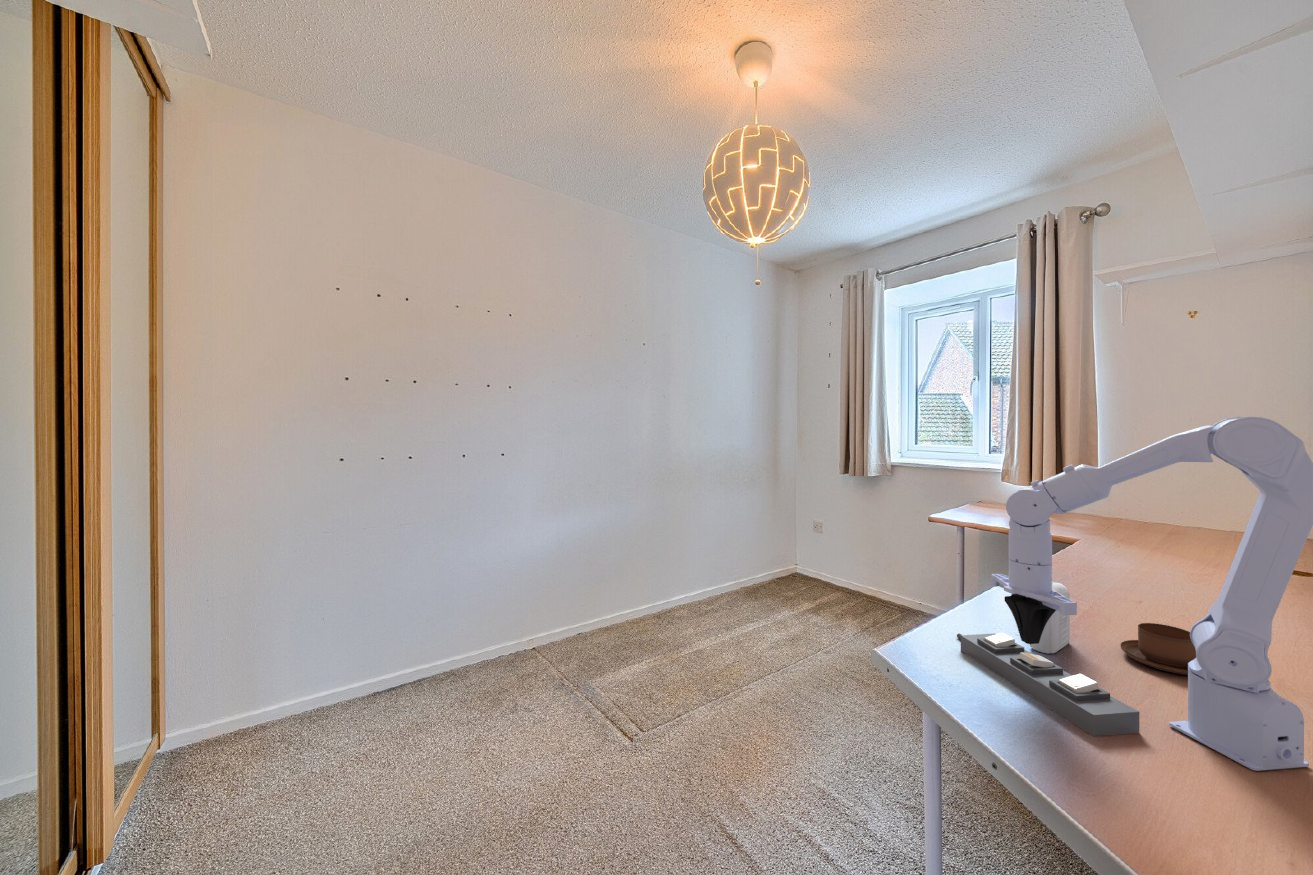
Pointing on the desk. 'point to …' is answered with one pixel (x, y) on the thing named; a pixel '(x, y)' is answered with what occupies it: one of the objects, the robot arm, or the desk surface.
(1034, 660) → the middle rocker
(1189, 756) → the desk surface
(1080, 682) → the rocker
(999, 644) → the rocker
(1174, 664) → the cup and saucer
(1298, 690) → the desk surface
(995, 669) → the rocker switch panel
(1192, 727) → the robot arm
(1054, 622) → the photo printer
